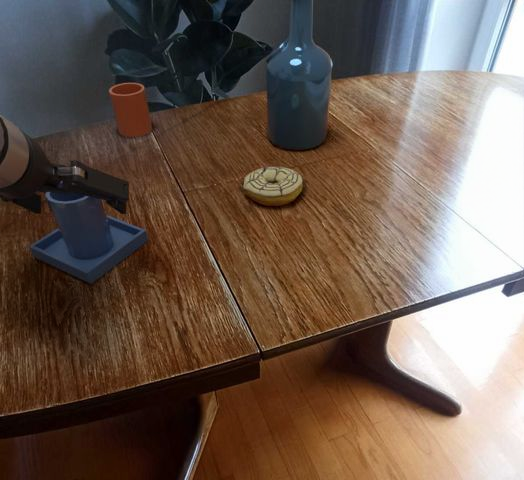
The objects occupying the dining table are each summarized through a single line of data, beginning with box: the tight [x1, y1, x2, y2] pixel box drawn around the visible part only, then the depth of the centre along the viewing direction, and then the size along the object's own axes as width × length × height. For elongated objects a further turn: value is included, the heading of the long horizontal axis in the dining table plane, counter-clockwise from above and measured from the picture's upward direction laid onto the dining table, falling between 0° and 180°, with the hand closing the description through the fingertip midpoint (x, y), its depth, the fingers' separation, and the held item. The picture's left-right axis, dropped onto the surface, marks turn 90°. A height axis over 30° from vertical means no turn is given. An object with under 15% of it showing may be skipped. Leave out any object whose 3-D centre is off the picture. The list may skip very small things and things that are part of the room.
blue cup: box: [45, 181, 114, 260], centre depth 73 cm, size 7×7×10 cm
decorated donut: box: [242, 166, 303, 207], centre depth 86 cm, size 10×11×4 cm
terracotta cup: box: [108, 82, 153, 143], centre depth 102 cm, size 7×7×10 cm
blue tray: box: [28, 214, 149, 285], centre depth 76 cm, size 13×13×2 cm
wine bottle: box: [265, 0, 334, 151], centre depth 92 cm, size 14×13×30 cm
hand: (81, 205), depth 72 cm, fingers open, 13 cm apart
